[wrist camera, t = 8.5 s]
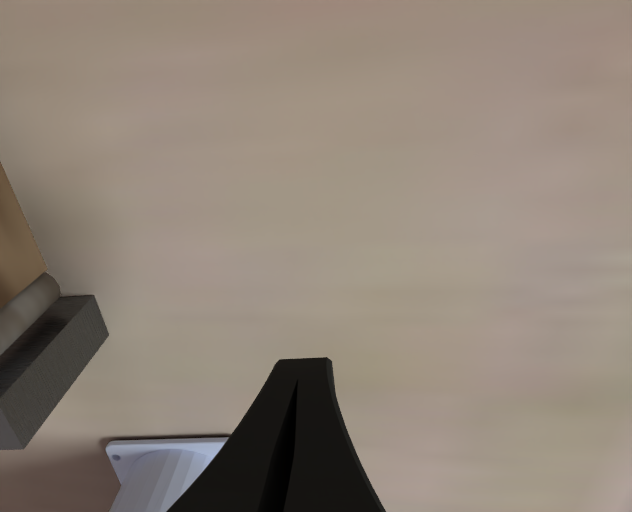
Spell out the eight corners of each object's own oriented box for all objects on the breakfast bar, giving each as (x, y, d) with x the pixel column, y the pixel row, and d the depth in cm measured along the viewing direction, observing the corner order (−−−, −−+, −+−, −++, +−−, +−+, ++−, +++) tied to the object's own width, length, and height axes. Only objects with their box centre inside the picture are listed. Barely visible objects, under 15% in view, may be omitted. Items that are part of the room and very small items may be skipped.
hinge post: (109, 335, 23) (23, 449, 17) (54, 338, 24) (-50, 451, 18) (93, 295, 22) (-4, 401, 16) (36, 298, 23) (-81, 404, 16)
